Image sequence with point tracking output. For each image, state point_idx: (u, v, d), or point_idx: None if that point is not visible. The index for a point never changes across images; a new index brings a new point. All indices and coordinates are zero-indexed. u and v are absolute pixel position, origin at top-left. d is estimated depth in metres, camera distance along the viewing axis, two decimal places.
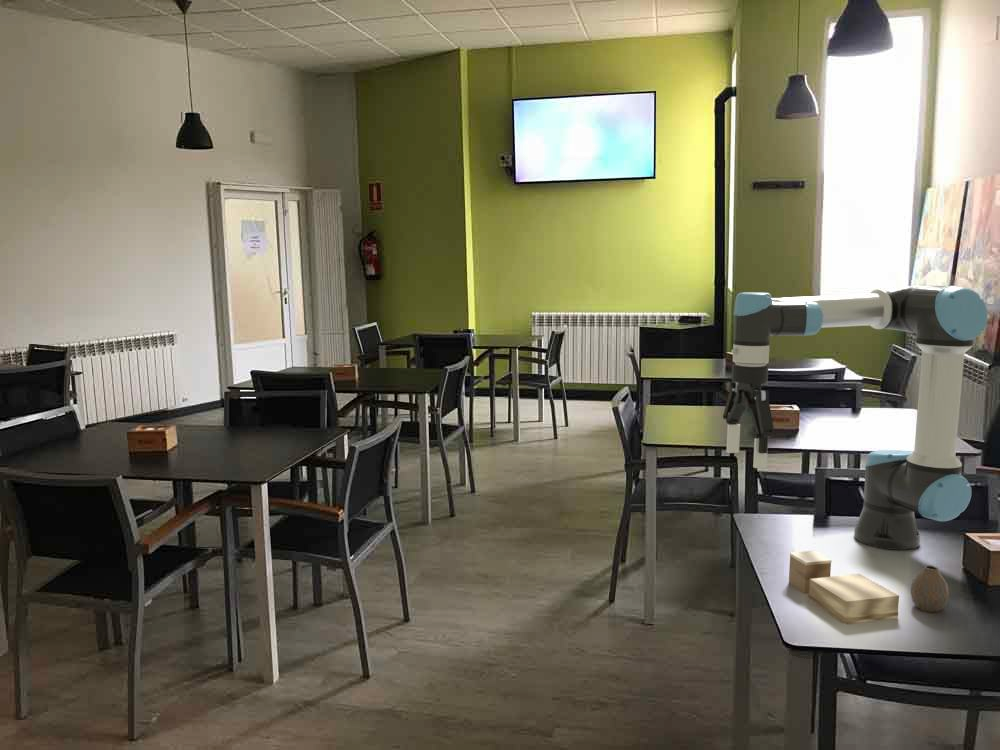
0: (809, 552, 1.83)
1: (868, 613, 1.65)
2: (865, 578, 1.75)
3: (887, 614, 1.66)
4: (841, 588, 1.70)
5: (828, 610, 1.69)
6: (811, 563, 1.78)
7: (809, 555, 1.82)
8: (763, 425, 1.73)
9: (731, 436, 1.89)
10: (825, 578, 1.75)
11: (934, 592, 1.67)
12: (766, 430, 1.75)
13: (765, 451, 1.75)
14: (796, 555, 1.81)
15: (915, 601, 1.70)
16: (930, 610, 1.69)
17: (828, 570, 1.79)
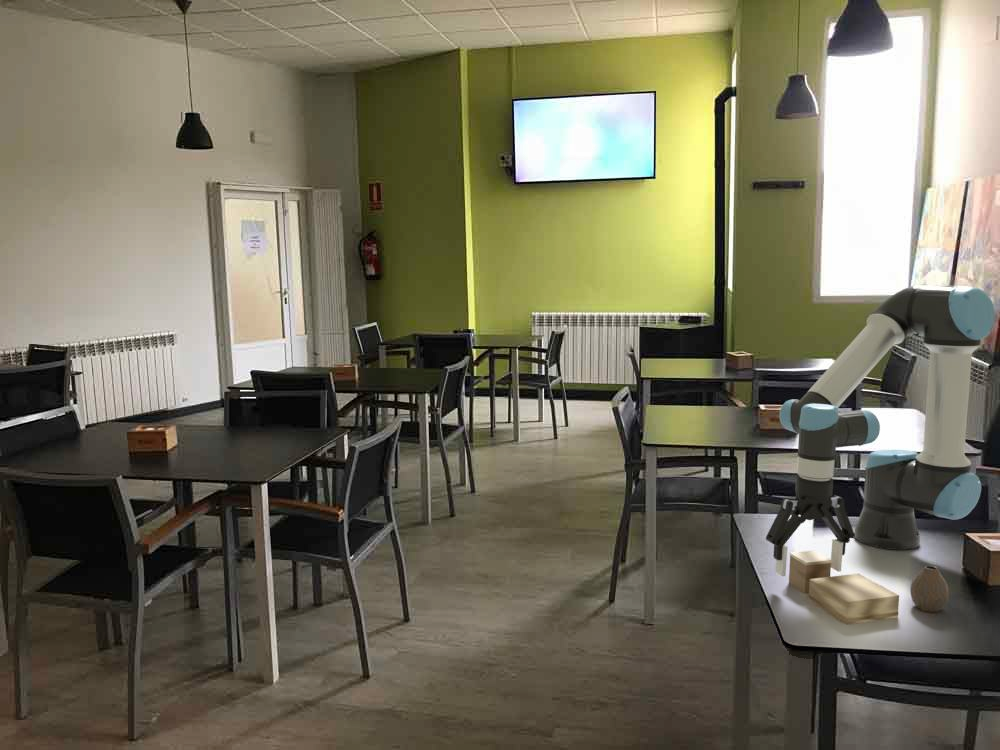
0: (809, 552, 1.83)
1: (869, 613, 1.65)
2: (864, 578, 1.75)
3: (887, 614, 1.66)
4: (841, 588, 1.70)
5: (829, 610, 1.69)
6: (811, 563, 1.78)
7: (809, 555, 1.82)
8: (770, 530, 1.79)
9: (833, 551, 1.83)
10: (825, 578, 1.75)
11: (934, 592, 1.67)
12: (781, 538, 1.78)
13: (776, 557, 1.79)
14: (796, 555, 1.81)
15: (915, 601, 1.70)
16: (930, 610, 1.69)
17: (828, 570, 1.79)
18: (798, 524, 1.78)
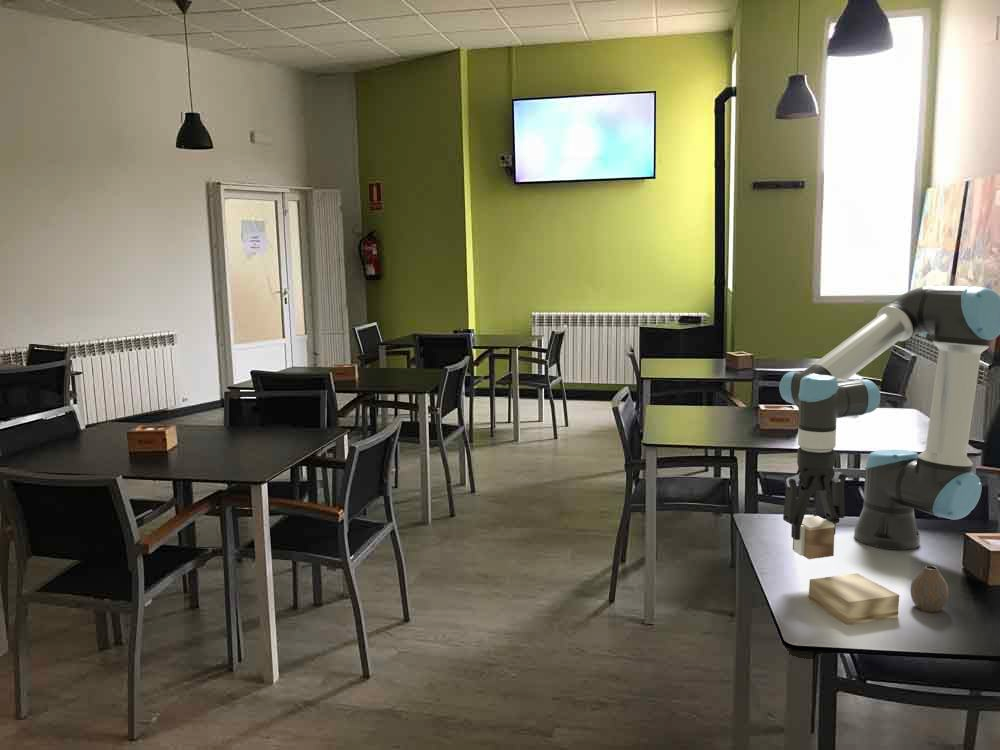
0: (813, 517, 1.82)
1: (869, 613, 1.65)
2: (863, 578, 1.75)
3: (888, 614, 1.66)
4: (841, 588, 1.70)
5: (829, 611, 1.68)
6: (814, 528, 1.77)
7: (812, 520, 1.81)
8: (784, 510, 1.79)
9: None
10: (824, 578, 1.75)
11: (934, 592, 1.67)
12: (797, 518, 1.78)
13: (794, 537, 1.79)
14: None
15: (915, 601, 1.70)
16: (930, 610, 1.69)
17: (832, 535, 1.78)
18: (808, 499, 1.78)
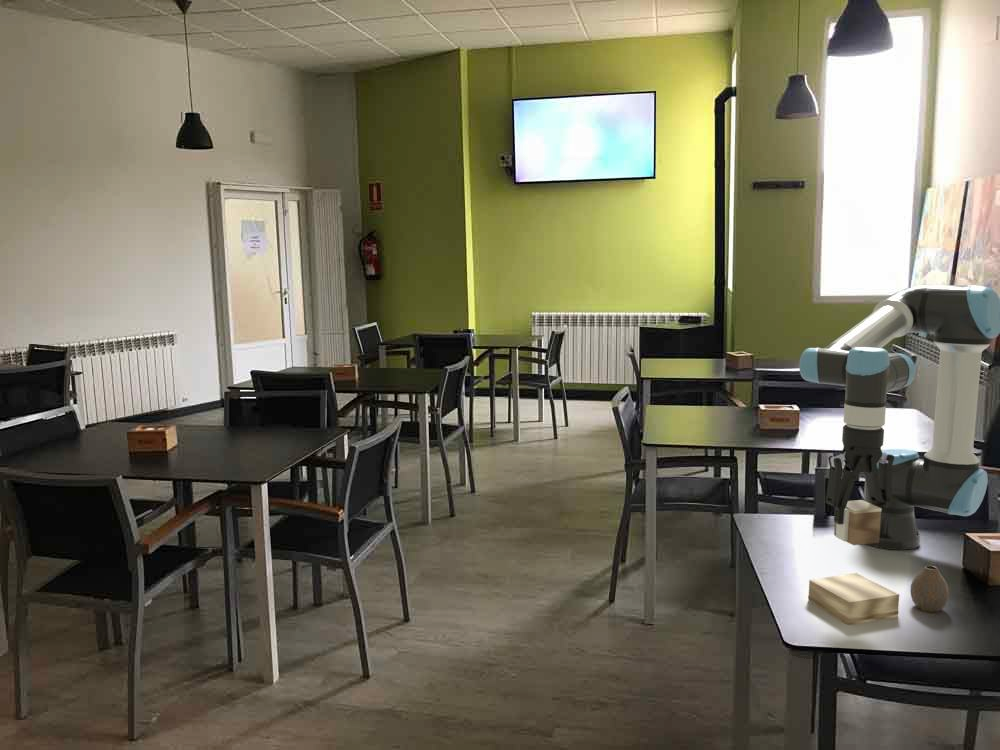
0: (857, 501, 1.70)
1: (870, 613, 1.65)
2: (863, 577, 1.75)
3: (888, 613, 1.66)
4: (841, 588, 1.70)
5: (830, 611, 1.68)
6: (860, 511, 1.64)
7: (857, 504, 1.68)
8: (827, 492, 1.67)
9: None
10: (824, 579, 1.75)
11: (934, 592, 1.67)
12: (841, 501, 1.66)
13: (837, 521, 1.67)
14: None
15: (915, 601, 1.70)
16: (930, 610, 1.69)
17: (878, 519, 1.66)
18: (853, 480, 1.65)
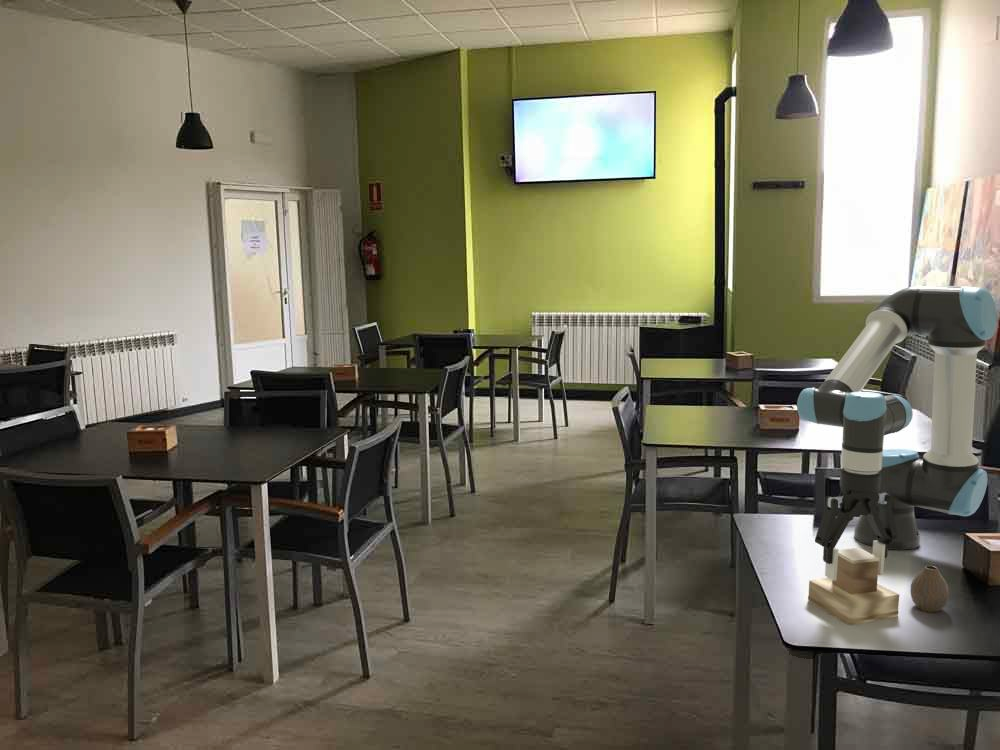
0: (855, 549, 1.72)
1: (871, 613, 1.65)
2: None
3: (888, 613, 1.66)
4: None
5: (830, 611, 1.68)
6: (858, 561, 1.66)
7: (855, 553, 1.70)
8: (818, 531, 1.68)
9: (874, 554, 1.71)
10: (824, 579, 1.74)
11: (934, 592, 1.67)
12: (831, 540, 1.67)
13: (826, 561, 1.67)
14: (841, 553, 1.70)
15: (915, 601, 1.70)
16: (930, 610, 1.69)
17: (876, 569, 1.67)
18: (846, 522, 1.66)
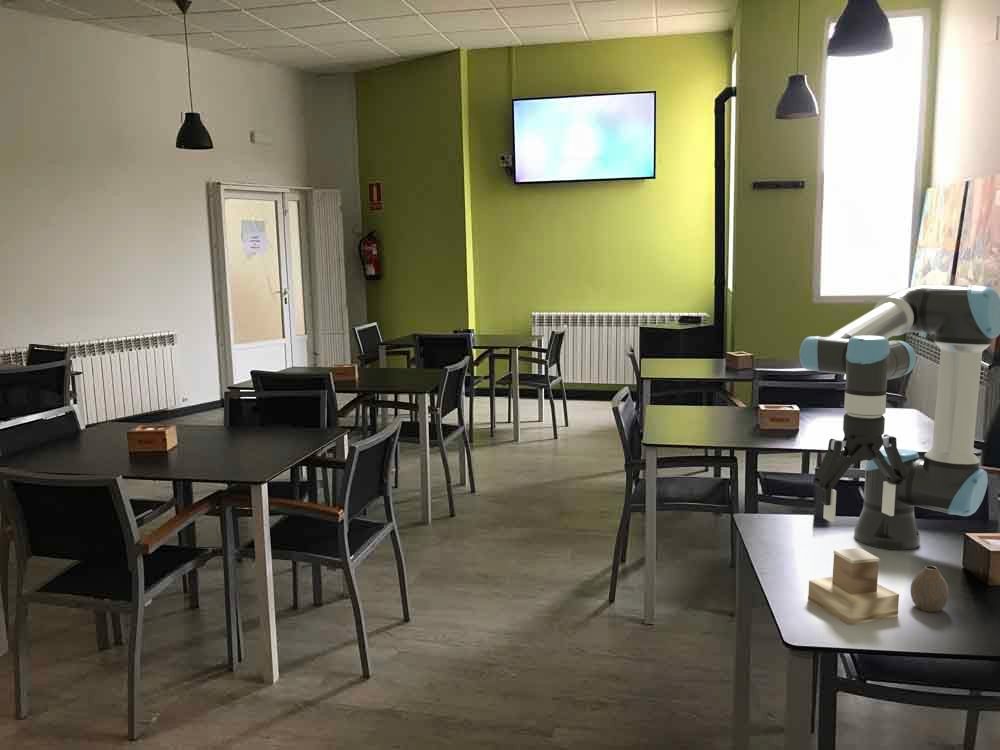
0: (855, 550, 1.72)
1: (871, 613, 1.65)
2: None
3: (888, 613, 1.66)
4: (842, 589, 1.69)
5: (830, 612, 1.68)
6: (858, 561, 1.66)
7: (855, 553, 1.70)
8: (817, 473, 1.66)
9: (885, 495, 1.70)
10: (823, 579, 1.74)
11: (934, 592, 1.67)
12: (829, 482, 1.65)
13: (824, 502, 1.66)
14: (841, 553, 1.70)
15: (915, 601, 1.70)
16: (930, 610, 1.69)
17: (876, 569, 1.67)
18: (847, 466, 1.65)
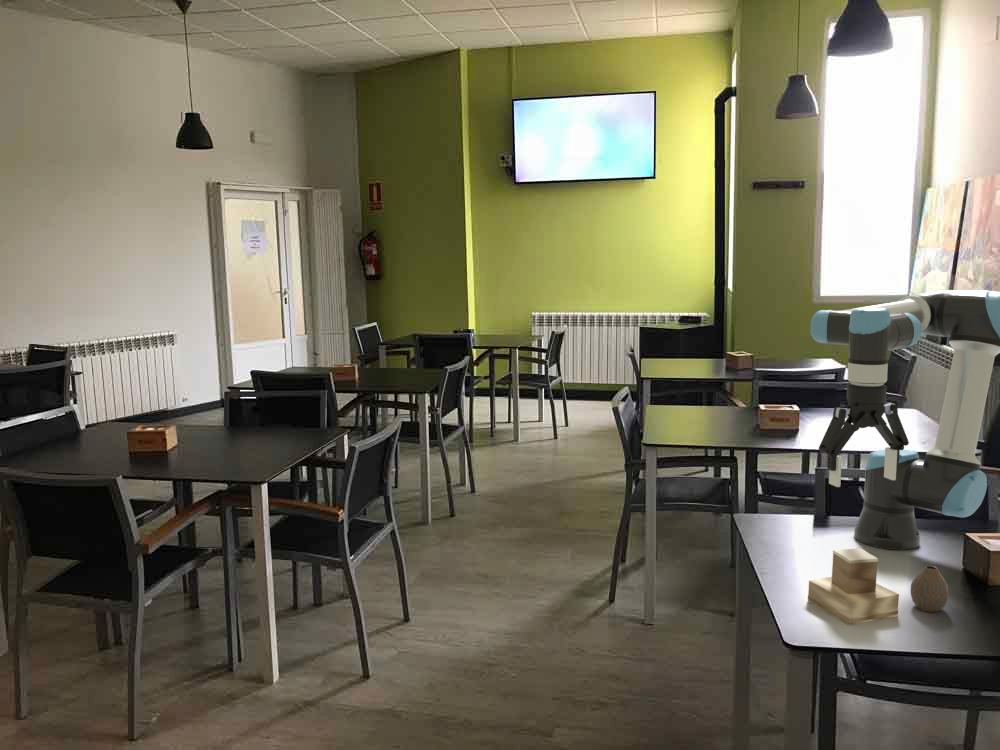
0: (854, 550, 1.72)
1: (871, 613, 1.65)
2: None
3: (888, 613, 1.66)
4: None
5: (830, 611, 1.68)
6: (855, 561, 1.66)
7: (854, 553, 1.70)
8: (823, 440, 1.73)
9: (887, 460, 1.77)
10: (823, 579, 1.74)
11: (934, 592, 1.67)
12: (835, 448, 1.72)
13: (830, 468, 1.73)
14: (840, 553, 1.70)
15: (915, 601, 1.70)
16: (930, 610, 1.69)
17: (874, 569, 1.67)
18: (852, 432, 1.72)
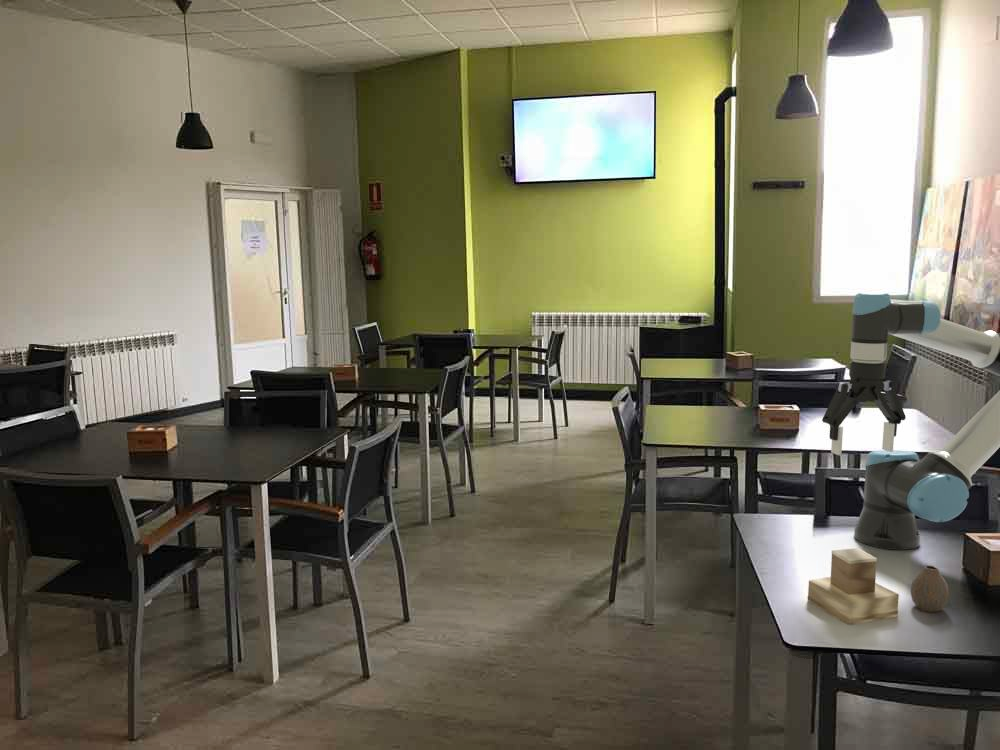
0: (853, 550, 1.72)
1: (870, 613, 1.65)
2: None
3: (888, 613, 1.66)
4: None
5: (830, 611, 1.68)
6: (855, 561, 1.66)
7: (852, 553, 1.70)
8: (826, 412, 1.90)
9: (885, 433, 1.94)
10: (823, 579, 1.75)
11: (934, 592, 1.67)
12: (837, 419, 1.89)
13: (832, 438, 1.89)
14: (839, 553, 1.70)
15: (915, 601, 1.70)
16: (930, 610, 1.69)
17: (873, 569, 1.67)
18: (853, 405, 1.89)
